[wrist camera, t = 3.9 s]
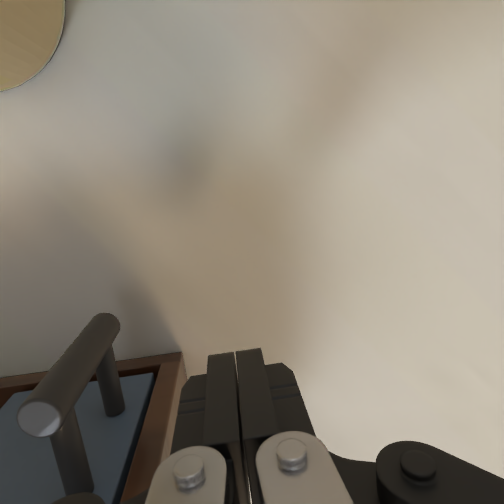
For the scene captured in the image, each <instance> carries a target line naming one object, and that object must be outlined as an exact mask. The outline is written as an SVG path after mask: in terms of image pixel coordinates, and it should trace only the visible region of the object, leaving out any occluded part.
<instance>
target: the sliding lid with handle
mask: <svg viewBox="0 0 504 504" xmlns="http://www.w3.org/2000/svg"><path fill="white" fill-rule="evenodd" d="M119 331H120V323H119V320H118V319H117V318H116V317H115V316H114V315H113V314H110V313H99V314H97V315H96V316H94V317H93V319H92V320H91V321H90V322H89V323H88V325H87V326H86V327H85V328H84V329H83V331H82V332H81V333H80V334H79V335H78V337H77V338H76V339H75V340H74V342H73V343H72V344H71V345H70V346H69V348H68V349H67V350H66V351H65V352H64V354H63V355H62V356H61V357H60V358H59V360H58V361H57V362H56V363H55V364H54V366H53V367H52V368H51V369H50V371H49V372H48V373H47V374H46V375H45V377H44V378H43V379H42V380H41V381H40V383H39V384H38V385H37V386H36V387H35V389H34V390H32V391H25V392H18V393H14V394H13V395H12V396H11V398H10V399H9V400H8V401H7V402H6V403H5V404H4V405H3V406H2V408H1V409H0V504H51V503H53V502H54V501H56V500H58V499H60V498H62V497H65V496H68V495H71V494H75V493H81V492H89V493H94V494H96V495H98V496H100V497H101V498H102V499H103V501H104V502H105V504H119V503H120V500H121V496H122V493H123V490H124V486H125V483H126V479H127V476H128V473H129V469H130V466H131V463H132V459H133V456H134V452H135V449H136V446H137V442H138V439H139V436H140V432H141V429H142V425H143V422H144V419H145V415H146V412H147V409H148V405H149V402H150V399H151V395H152V392H153V388H154V385H155V379H154V374H153V373H147V374H141V375H134V376H127V377H120V378H119V375H118V370H117V366H116V361H115V357H114V352H113V348H112V343H113V341H114V339H115V338H116V336H117V334H118V333H119ZM95 372H96V376H97V380H98V381H93V382H89V381H90V379H91V378H92V376H93V374H94V373H95Z"/></svg>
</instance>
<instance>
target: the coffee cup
mask: <svg viewBox="0 0 504 504" xmlns="http://www.w3.org/2000/svg"><path fill="white" fill-rule="evenodd" d="M64 17H65V0H0V91H5V90H9V89H11V88H14V87H17V86H19V85H21V84H23V83H25V82H26V81H28V80H30V79H31V78H33V77H34V76H35V75H36V74H38V73H39V72H40V71H41V70H42V69H43V68H44V67H45V65H46V64H47V63H48V62H49V60H50V59H51V57H52V55H53V53H54V52H55V50H56V48H57V46H58V43H59V40H60V37H61V34H62V30H63V24H64Z"/></svg>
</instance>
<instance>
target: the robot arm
mask: <svg viewBox="0 0 504 504" xmlns="http://www.w3.org/2000/svg"><path fill="white" fill-rule="evenodd" d="M236 361H237V371H236V364H235V357H234V352H229V353H222V354H215V355H209V356H208V364H207V374H203V375H196V376H191V377H190V378H189V379H188V381H187V382H186V383H185V385H184V386H183V387H182V388H181V394H180V400H179V405H178V411H177V417H176V423H175V428H174V434H173V440H172V446H171V451H170V456H169V457H167V458H166V459H165V460H164V461H163V462H162V463H161V464H160V465H159V466H158V468H157V469H156V471H155V473H154V476H153V478H152V482H151V485H150V487H149V488H148V489H146V490H145V491H143V492H142V493H140V494H138V495H136V496H134V497H132V498H130V499H128V500H126V501H123V502H121V503H119V504H251V502H250V491H251V498H252V504H504V479H503V478H500V477H498V476H496V475H494V474H492V473H490V472H487V471H485V470H483V469H481V468H479V467H477V466H474V465H472V464H470V463H468V462H466V461H463V460H461V459H459V458H457V457H455V456H453V455H450V454H448V453H446V452H444V451H442V450H440V449H437V448H435V447H433V446H430V445H428V444H424V443H421V442H415V441H400V442H395V443H392V444H389V445H388V446H386V447H384V448H383V449H382V450H381V451H380V452H379V454H378V456H377V458H376V463H375V462H366V461H356V460H350V459H346V458H342V457H339V456H337V455H335V454H333V453H331V452H329V451H328V450H327V448H326V446H325V445H324V444H323V443H322V441H321V440H319V439H318V438H317V437H316V435H315V433H314V430H313V427H312V424H311V421H310V418H309V416H308V413H307V410H306V407H305V404H304V401H303V399H302V396H301V393H300V390H299V387H298V386H297V382H296V379H295V376H294V373H293V371H292V370H290V369H289V368H288V367H287V366H286V365H284V364H283V363H276V364H269V365H265V364H264V360H263V355H262V351H261V348H256V349H249V350H242V351H236ZM237 373H238V378H237ZM248 477H249V480H248ZM249 484H250V491H249ZM51 504H105V502H104V501H103V499H102V498H101V497H100V496H98V495H96V494H94V493H89V492H81V493H75V494H71V495H68V496H65V497H62V498H60V499H58V500H56V501H54V502H53V503H51Z"/></svg>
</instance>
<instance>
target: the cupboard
mask: <svg viewBox="0 0 504 504" xmlns="http://www.w3.org/2000/svg"><path fill="white" fill-rule="evenodd" d="M116 366H117V370H118V375H119V378H120V377H127V376H134V375H141V374H147V373H153V374H154V379H155V385H154V388H153V392H152V395H151V399H150V402H149V405H148V409H147V412H146V415H145V419H144V422H143V425H142V429H141V432H140V436H139V439H138V442H137V446H136V449H135V452H134V456H133V459H132V463H131V466H130V469H129V473H128V476H127V479H126V483H125V486H124V490H123V493H122V496H121V500H120V503H121V502H123V501H126V500H128V499H130V498H132V497H134V496H136V495H138V494H140V493H142V492H143V491H145V490H146V489H148V488H149V487H150V485H151V482H152V478H153V476H154V473H155V471H156V469H157V468H158V466H159V465H160V464H161V463H162V462H163V461H164V460H165V459H166V458H167V457H169V456H170V451H171V446H172V440H173V434H174V428H175V423H176V417H177V411H178V405H179V400H180V394H181V388H182V387H183V386H184V385H185V383H186V382H187V376H186V371H185V365H184V359H183V353H182V352H178V353H171V354H164V355H157V356H150V357H144V358H137V359H130V360H123V361H116ZM48 372H49V371H47V372H40V373H33V374H26V375H19V376H12V377H5V378H0V409H1V408H2V406H3V405H4V404H5V403H6V402H7V401H8V400H9V399H10V398H11V396H12V395H13V394H14V393H18V392H25V391H32V390H34V389H35V387H36V386H37V385H38V384H39V383H40V381H41V380H42V379H43V378H44V377H45V375H46V374H47V373H48ZM93 381H98V380H97V376H96V372H95V373H94V374H93V376H92V378H91V379H90V381H89V382H93Z"/></svg>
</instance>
